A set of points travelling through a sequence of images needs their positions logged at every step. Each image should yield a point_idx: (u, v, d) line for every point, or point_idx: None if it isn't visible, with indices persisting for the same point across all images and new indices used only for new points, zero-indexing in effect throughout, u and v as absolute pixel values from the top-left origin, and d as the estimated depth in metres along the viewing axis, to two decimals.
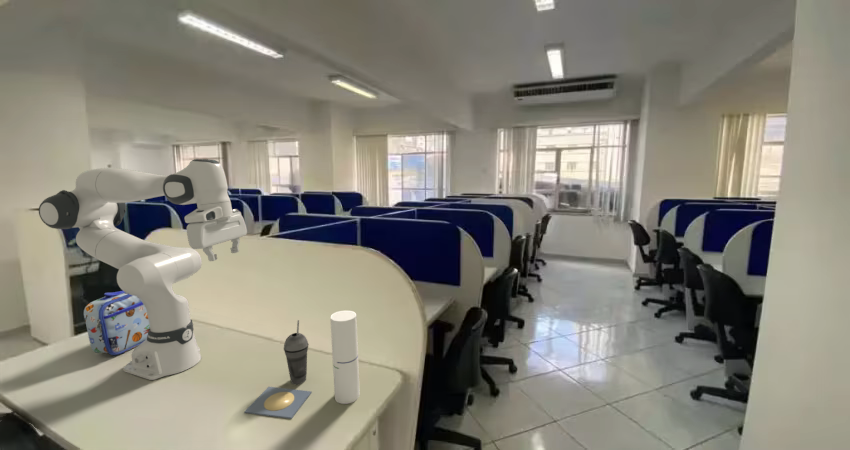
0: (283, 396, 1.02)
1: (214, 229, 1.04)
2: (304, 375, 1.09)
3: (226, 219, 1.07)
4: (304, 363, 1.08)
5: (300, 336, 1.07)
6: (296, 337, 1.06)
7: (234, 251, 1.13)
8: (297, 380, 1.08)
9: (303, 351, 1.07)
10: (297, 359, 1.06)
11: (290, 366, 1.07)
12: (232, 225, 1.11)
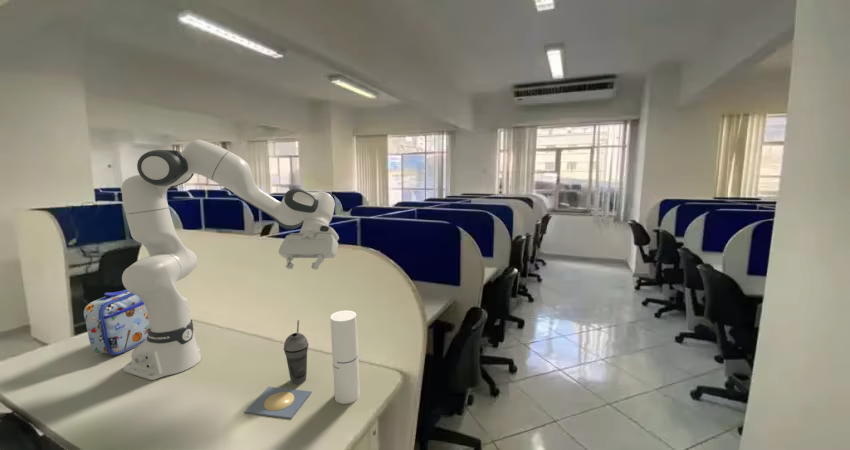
0: (283, 396, 1.02)
1: None
2: (304, 375, 1.09)
3: None
4: (304, 363, 1.08)
5: (300, 336, 1.07)
6: (296, 337, 1.06)
7: (291, 267, 1.17)
8: (297, 380, 1.08)
9: (303, 351, 1.07)
10: (297, 359, 1.06)
11: (290, 366, 1.07)
12: None
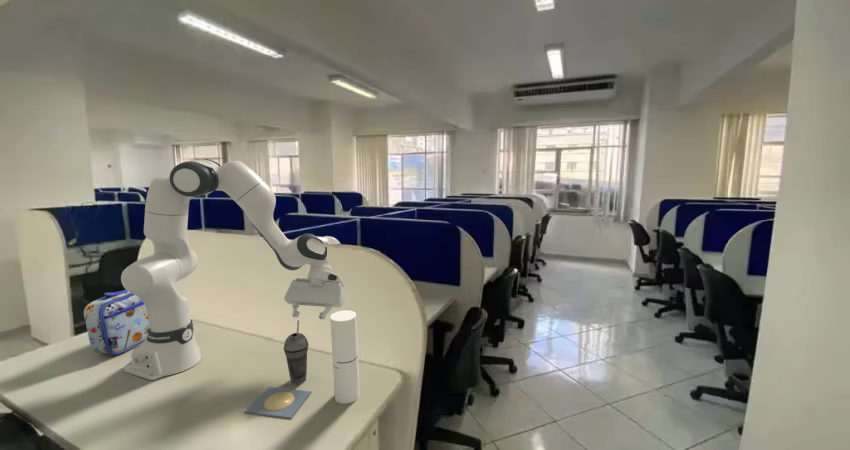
0: (283, 396, 1.02)
1: None
2: (304, 375, 1.09)
3: None
4: (304, 363, 1.08)
5: (300, 336, 1.07)
6: (296, 337, 1.06)
7: (297, 315, 1.17)
8: (297, 380, 1.08)
9: (303, 351, 1.07)
10: (297, 359, 1.06)
11: (290, 366, 1.07)
12: None
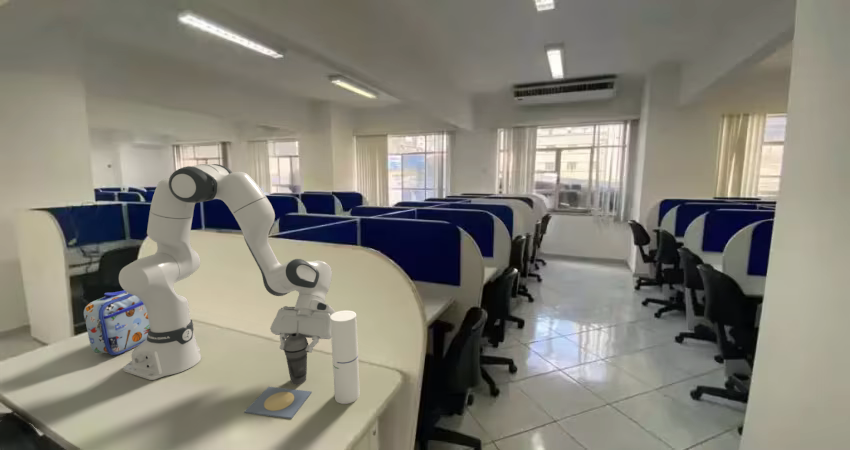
0: (283, 396, 1.02)
1: None
2: (304, 375, 1.09)
3: None
4: (304, 363, 1.08)
5: (300, 336, 1.07)
6: (296, 337, 1.06)
7: None
8: (297, 380, 1.08)
9: (303, 351, 1.07)
10: (297, 359, 1.06)
11: (290, 366, 1.07)
12: None
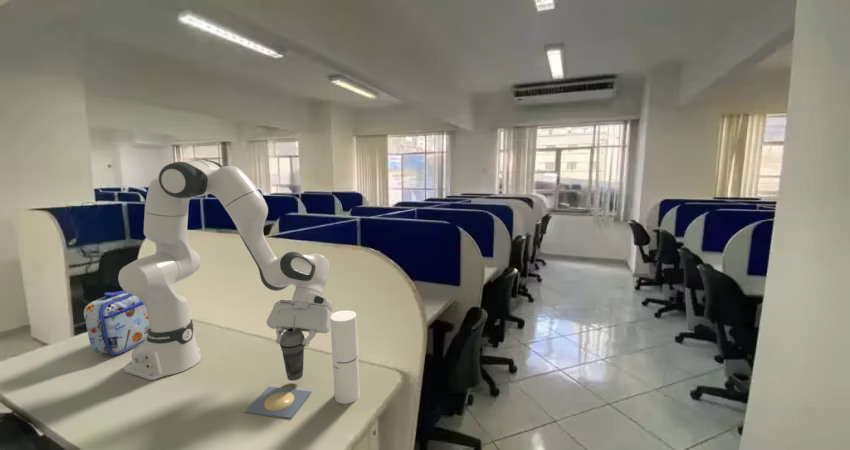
0: (283, 396, 1.02)
1: None
2: (300, 371, 1.07)
3: None
4: (300, 359, 1.06)
5: (296, 331, 1.05)
6: (292, 332, 1.05)
7: None
8: (293, 376, 1.06)
9: (299, 346, 1.05)
10: (293, 354, 1.04)
11: (286, 362, 1.05)
12: None
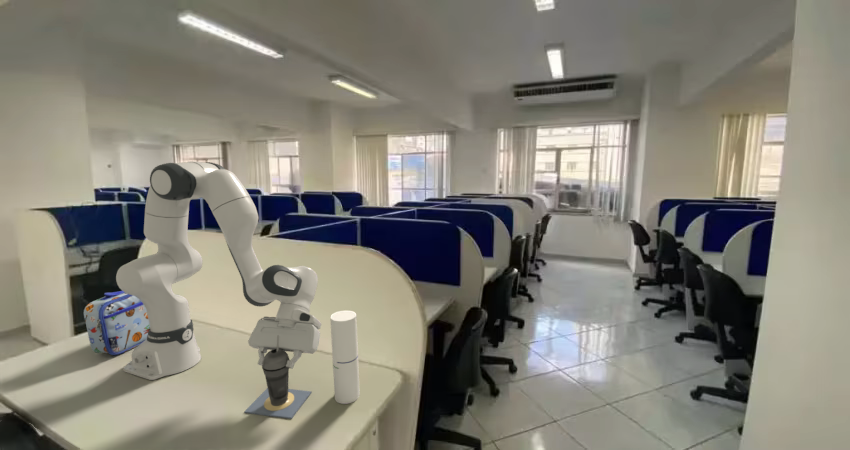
0: None
1: None
2: (285, 395, 0.99)
3: None
4: (285, 382, 0.98)
5: (280, 353, 0.97)
6: (275, 354, 0.96)
7: None
8: (277, 401, 0.98)
9: (283, 369, 0.96)
10: (277, 378, 0.96)
11: (269, 386, 0.97)
12: None
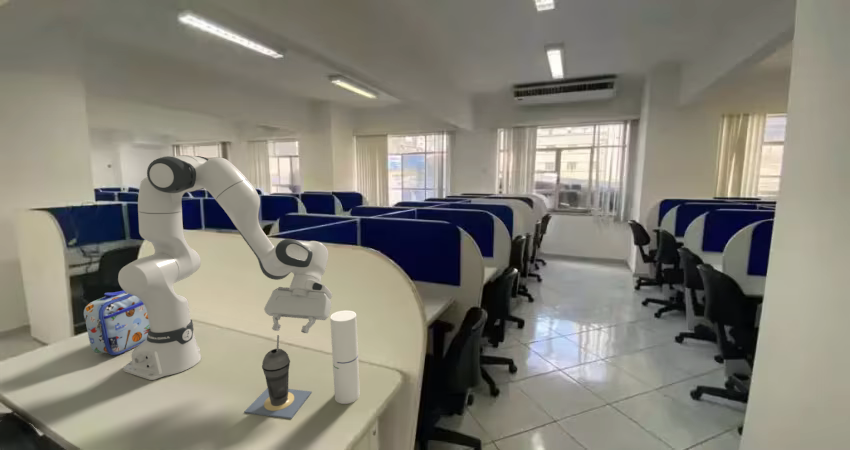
0: None
1: None
2: (285, 395, 0.99)
3: None
4: (285, 382, 0.98)
5: (280, 353, 0.97)
6: (275, 354, 0.96)
7: (278, 328, 1.06)
8: (277, 401, 0.98)
9: (283, 369, 0.96)
10: (277, 378, 0.96)
11: (269, 386, 0.97)
12: None
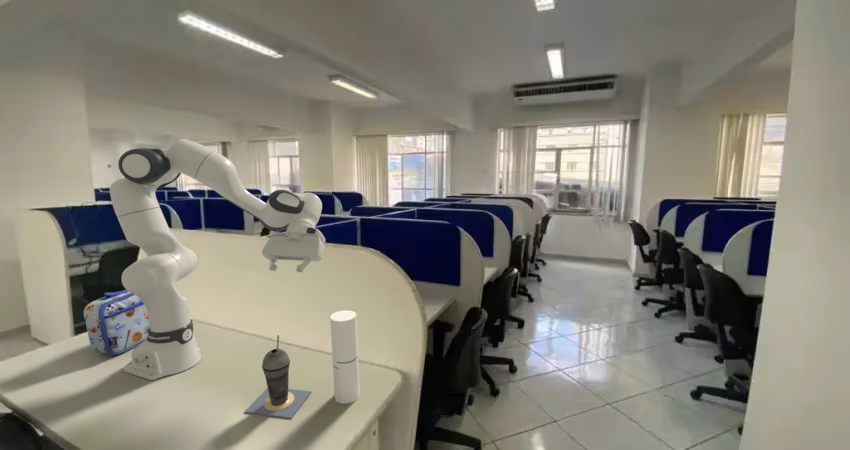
0: None
1: None
2: (285, 395, 0.99)
3: None
4: (285, 382, 0.98)
5: (280, 353, 0.97)
6: (275, 354, 0.96)
7: (275, 269, 1.14)
8: (277, 401, 0.98)
9: (283, 369, 0.96)
10: (277, 378, 0.96)
11: (269, 386, 0.97)
12: None
